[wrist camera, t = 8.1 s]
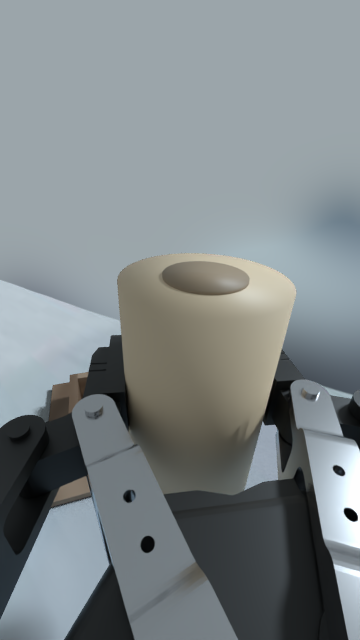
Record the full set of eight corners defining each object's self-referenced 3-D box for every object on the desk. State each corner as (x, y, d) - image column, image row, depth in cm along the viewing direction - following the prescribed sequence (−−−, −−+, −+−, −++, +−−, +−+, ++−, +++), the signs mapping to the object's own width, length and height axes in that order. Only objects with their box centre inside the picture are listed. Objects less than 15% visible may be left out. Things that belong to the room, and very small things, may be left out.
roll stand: (166, 369, 37) (166, 347, 36) (205, 463, 26) (209, 437, 24) (53, 388, 33) (48, 365, 32) (40, 510, 22) (30, 483, 20)
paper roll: (212, 432, 17) (239, 247, 11) (261, 526, 12) (341, 301, 7) (126, 455, 15) (107, 254, 10) (147, 572, 11) (135, 329, 5)
